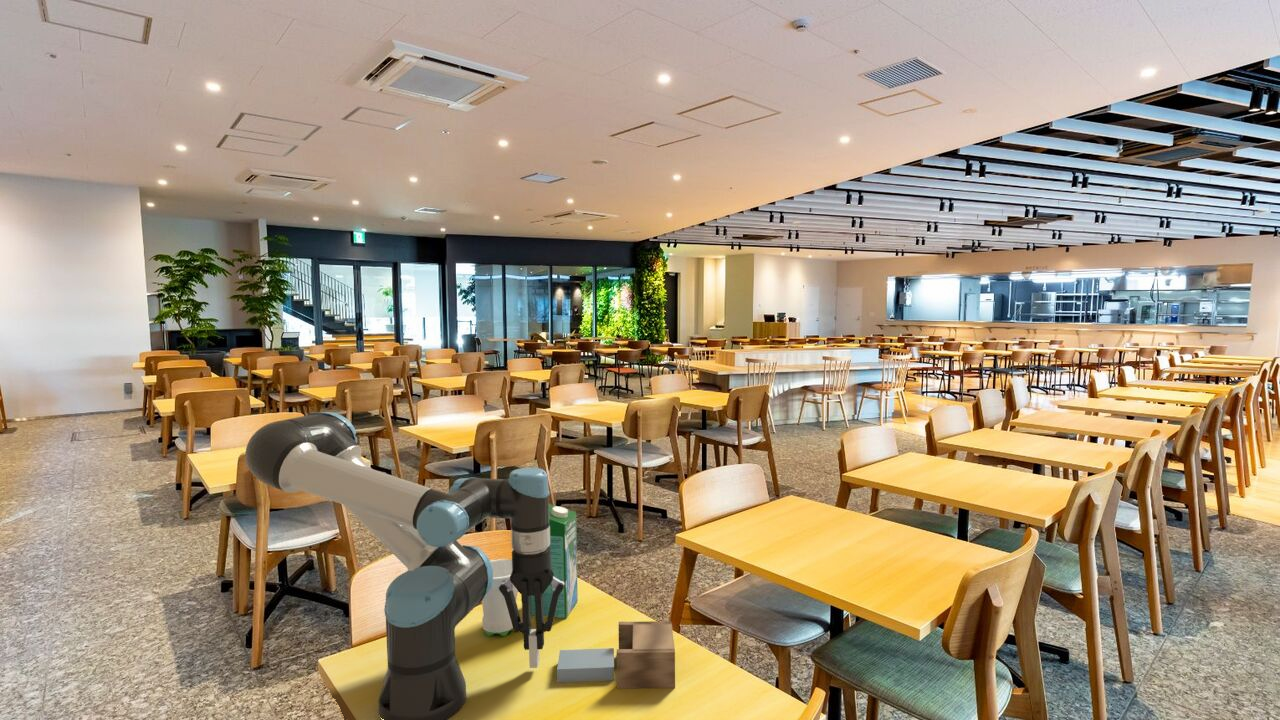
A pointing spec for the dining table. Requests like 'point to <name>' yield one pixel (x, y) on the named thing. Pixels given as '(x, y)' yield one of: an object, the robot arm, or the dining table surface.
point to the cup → (497, 601)
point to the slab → (585, 665)
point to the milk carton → (561, 561)
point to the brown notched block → (646, 655)
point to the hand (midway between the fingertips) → (534, 664)
